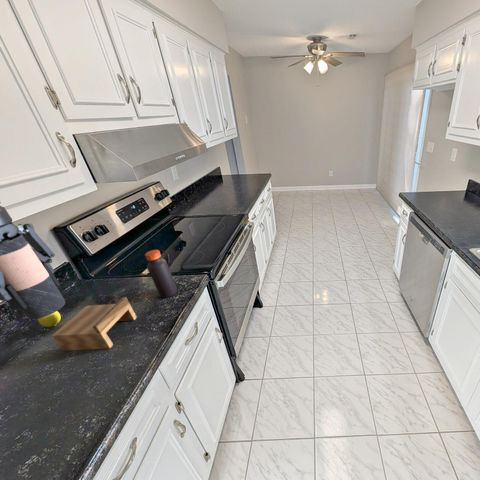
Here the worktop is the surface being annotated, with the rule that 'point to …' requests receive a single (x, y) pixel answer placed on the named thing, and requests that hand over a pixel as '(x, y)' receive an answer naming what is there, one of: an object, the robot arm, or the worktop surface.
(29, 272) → the travel mug
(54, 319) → the lemon
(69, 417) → the worktop surface
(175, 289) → the bottle
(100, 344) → the shelf
